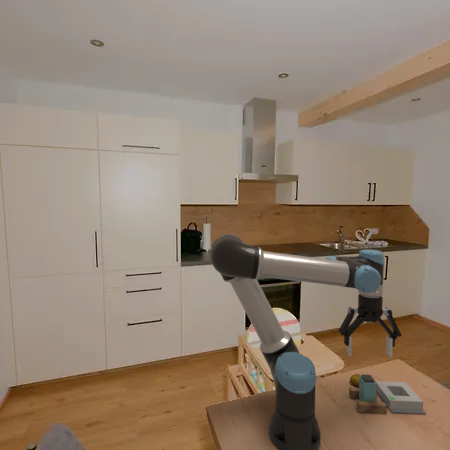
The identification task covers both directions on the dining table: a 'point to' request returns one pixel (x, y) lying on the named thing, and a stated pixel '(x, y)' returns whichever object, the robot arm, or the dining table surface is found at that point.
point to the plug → (367, 388)
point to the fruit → (355, 380)
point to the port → (399, 398)
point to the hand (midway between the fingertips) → (368, 354)
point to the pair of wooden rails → (367, 404)
